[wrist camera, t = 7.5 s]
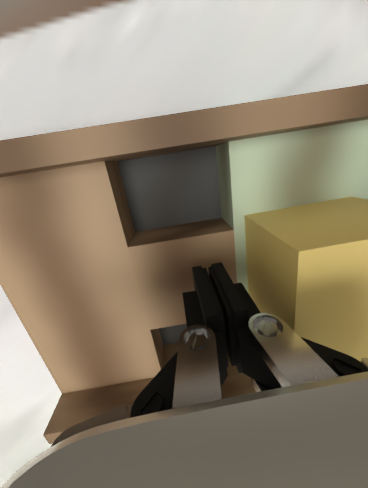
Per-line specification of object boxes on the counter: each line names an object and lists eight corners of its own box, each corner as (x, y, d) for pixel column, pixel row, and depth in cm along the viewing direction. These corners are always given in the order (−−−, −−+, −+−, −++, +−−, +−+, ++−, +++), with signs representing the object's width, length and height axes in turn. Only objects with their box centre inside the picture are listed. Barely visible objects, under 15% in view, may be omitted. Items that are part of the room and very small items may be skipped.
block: (351, 196, 11) (479, 219, 7) (337, 287, 14) (426, 352, 9) (244, 215, 11) (299, 251, 7) (248, 303, 13) (291, 377, 9)
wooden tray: (360, 105, 12) (495, 64, 7) (327, 322, 19) (387, 382, 14) (-14, 163, 12) (-147, 163, 7) (82, 365, 18) (49, 443, 13)
